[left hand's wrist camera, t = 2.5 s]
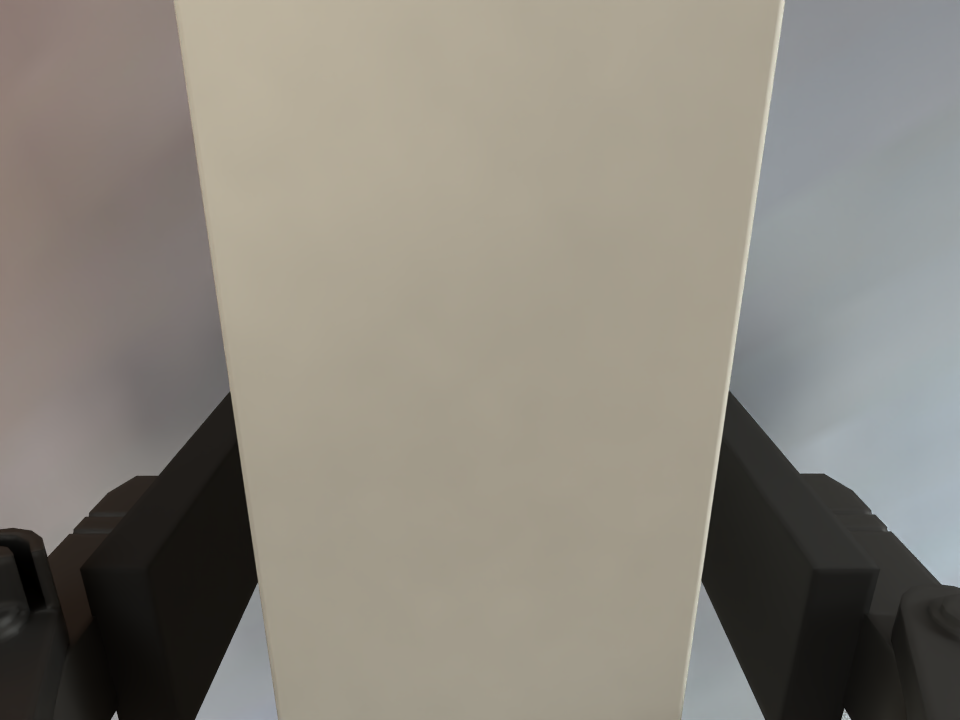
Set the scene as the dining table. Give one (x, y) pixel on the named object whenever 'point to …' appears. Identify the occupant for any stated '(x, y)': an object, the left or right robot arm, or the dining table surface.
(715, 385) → the bar
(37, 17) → the dining table surface
